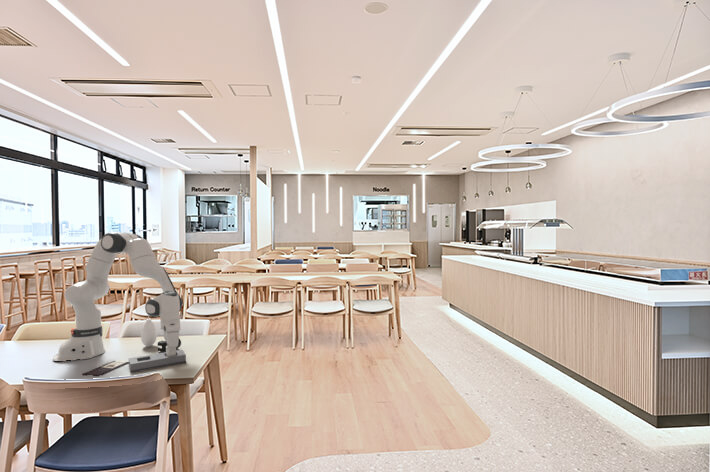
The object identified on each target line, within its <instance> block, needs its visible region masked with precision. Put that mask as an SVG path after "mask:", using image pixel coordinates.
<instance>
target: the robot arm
mask: <svg viewBox="0 0 710 472" xmlns="http://www.w3.org/2000/svg"><path fill="white" fill-rule="evenodd" d="M119 254H121V255H124V254H127V255H128V257H129V260H130V263H131V266H132V268H133V271H134V272H135V273H136V274H137V275H139V276H141V277H144V278H149V279H152V280H155V281H156V282H157V283H158V284H159V286H160V287H161V290H162V292H161V293H160V294H159V295H157V296H155V297H152V298H149V299H148V300H147V301H146V303H145V306H144V307H145V313H146V314H147V316H148V315H149V317H151V318H157V317H160V330H162V331H163V338H164V341H166V342H167V346H169V347H170V354H171V355H173V354H174V353H175V352H174V351H175V347H178V343H179V339H180V331H181V316H180V311H181V310H182V307H183V304H184V303H183V300H182V299H183V298H182V297H181V295H179V293H178V291H177V290H176V288H175V286H174V284H173V282H172V280H171V277H170V276H169V274H168V272H167V270H166V269H165V268H164V266H162V265H160V263H159V262H158V261H157V259H156V256H155V253H154V251H153V249H152V246H151V245H150V243H149V241H148V240H147V239H145V238H143V237H142V236H141V235H139V234H137V233H129V232H116V231H114V232H113V231H112V232H108V233H105V234H104V235H103V236H102V237H101V238H100V239H99V240H98V242H97V243H96V244H95V246H94V248H93V249H92V251H91V252H90V256H89V258H88V260H87V263H86V265H85V266H84V270H85V272H86V273H87V274H86V278H85V280H84V281H80V282H76V283H73V284H71V285H70V286H68V287H66V289H65V290H64V299H65V301H66V302H67V303H69V304H70V306H72V308H73V312H74V314H75V328H71V329H70V334H71V337H70V338H68V339H67V340H66V341H64V342H63V343H62V344H60V347H58V348H59V349H58V352H57V354H55V355H54V356H53V358H52V361H53V360H54V361H63V362H67V361H66V360H71V361H77V360H76V359H80V360H87V359H88V360H89V359H92V358H95V357H96V356H100V355H102V354H105V353H106V348H105V347H104V341H103V335H104V334H103V325H102V312H101V310H100V309H98V308H97V306H96V303H95V301H96V300H100V299H102V298H104V297H105V296H107V295H108V293H109V292H110V285H109V282H108V281H109V275H110V271H111V269H112V266H113V264H114V262H115V259H116V256H117V255H119ZM54 361H53V362H54Z"/></svg>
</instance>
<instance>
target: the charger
mask: <svg viewBox="0 0 710 472" xmlns="http://www.w3.org/2000/svg"><path fill="white" fill-rule="evenodd" d="M176 350H177V349H176V347H175V351H174V352H175V353H174V354H173V355H176ZM173 355H171V354H170V347H169V346H166V357H167V356H173Z"/></svg>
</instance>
